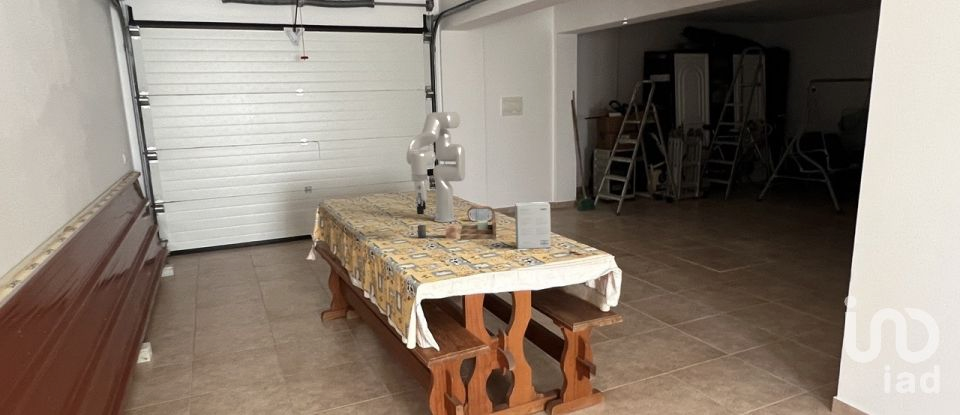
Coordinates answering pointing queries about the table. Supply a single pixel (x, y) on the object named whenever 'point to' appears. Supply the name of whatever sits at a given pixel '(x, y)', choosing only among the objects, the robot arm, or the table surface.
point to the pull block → (450, 233)
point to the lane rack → (479, 231)
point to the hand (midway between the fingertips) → (421, 211)
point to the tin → (480, 213)
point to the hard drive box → (533, 225)
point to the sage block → (482, 225)
